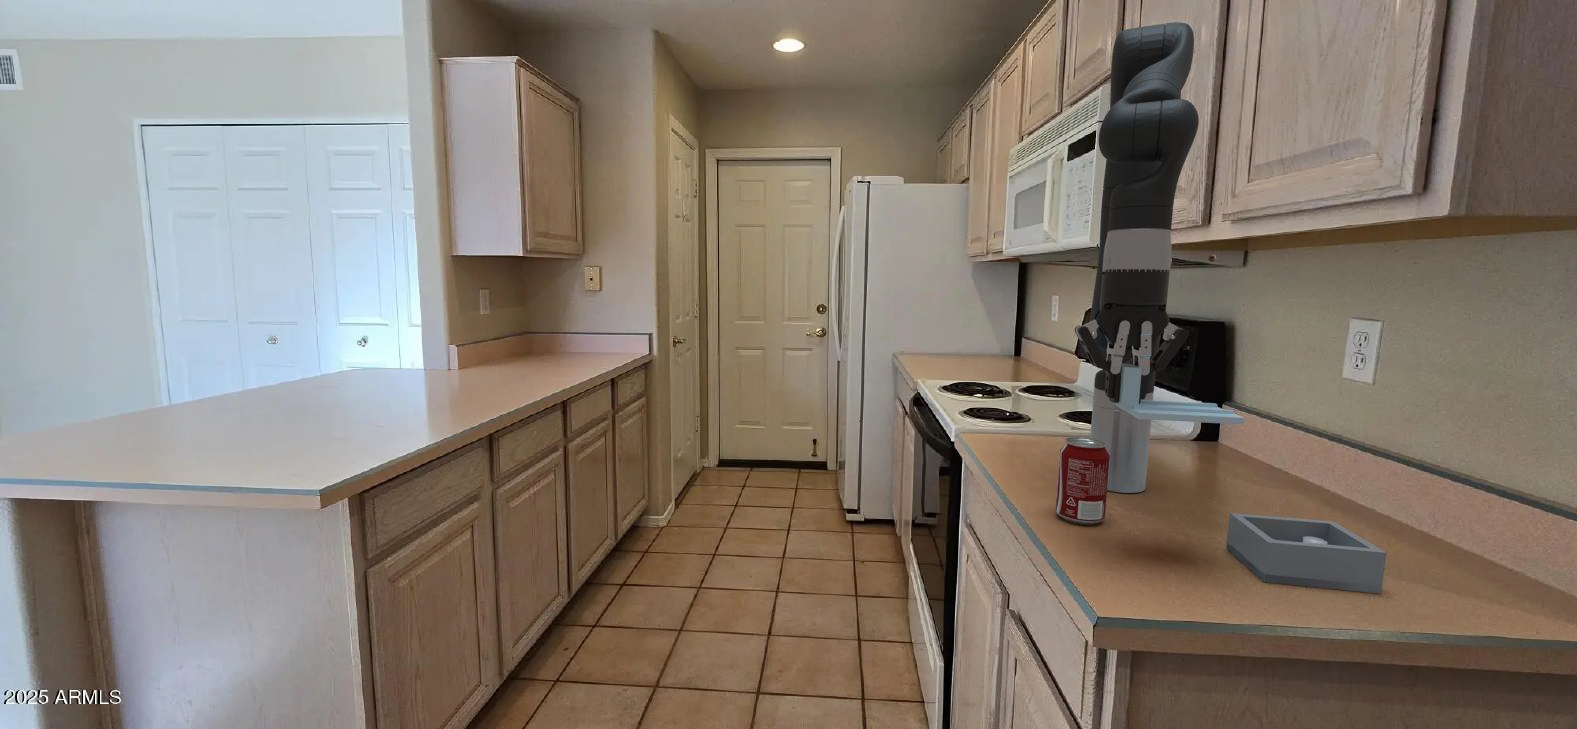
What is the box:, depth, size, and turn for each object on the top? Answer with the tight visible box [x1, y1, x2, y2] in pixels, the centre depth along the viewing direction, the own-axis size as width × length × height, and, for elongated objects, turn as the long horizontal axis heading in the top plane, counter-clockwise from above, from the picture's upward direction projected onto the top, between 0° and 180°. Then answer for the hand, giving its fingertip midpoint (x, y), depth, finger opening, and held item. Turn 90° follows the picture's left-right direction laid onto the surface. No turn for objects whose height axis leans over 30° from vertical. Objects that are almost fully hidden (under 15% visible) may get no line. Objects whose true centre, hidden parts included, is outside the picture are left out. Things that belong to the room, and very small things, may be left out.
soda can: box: [1055, 436, 1110, 526], centre depth 96 cm, size 7×7×12 cm
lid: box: [1112, 363, 1246, 425], centre depth 82 cm, size 10×13×6 cm
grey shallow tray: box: [1225, 512, 1387, 595], centre depth 80 cm, size 10×12×5 cm
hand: (1124, 401), depth 83 cm, fingers closed on lid
